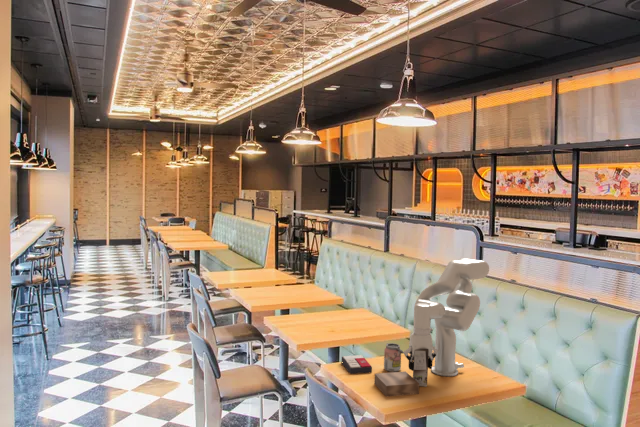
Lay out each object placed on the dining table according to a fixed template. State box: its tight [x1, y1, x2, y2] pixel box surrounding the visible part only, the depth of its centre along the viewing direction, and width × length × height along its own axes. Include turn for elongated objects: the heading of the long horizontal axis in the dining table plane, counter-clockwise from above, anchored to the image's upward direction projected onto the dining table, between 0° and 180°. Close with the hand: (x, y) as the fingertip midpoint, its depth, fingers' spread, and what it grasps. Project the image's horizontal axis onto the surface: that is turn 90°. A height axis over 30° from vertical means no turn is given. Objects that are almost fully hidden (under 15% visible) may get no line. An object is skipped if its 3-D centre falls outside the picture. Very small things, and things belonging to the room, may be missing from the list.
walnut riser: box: [374, 371, 420, 398], centre depth 212 cm, size 15×14×5 cm
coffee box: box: [412, 349, 429, 387], centre depth 219 cm, size 9×6×16 cm
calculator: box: [341, 354, 373, 375], centre depth 237 cm, size 11×4×15 cm
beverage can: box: [383, 342, 404, 373], centre depth 235 cm, size 9×8×12 cm
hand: (420, 368), depth 219 cm, fingers closed on coffee box, 8 cm apart
